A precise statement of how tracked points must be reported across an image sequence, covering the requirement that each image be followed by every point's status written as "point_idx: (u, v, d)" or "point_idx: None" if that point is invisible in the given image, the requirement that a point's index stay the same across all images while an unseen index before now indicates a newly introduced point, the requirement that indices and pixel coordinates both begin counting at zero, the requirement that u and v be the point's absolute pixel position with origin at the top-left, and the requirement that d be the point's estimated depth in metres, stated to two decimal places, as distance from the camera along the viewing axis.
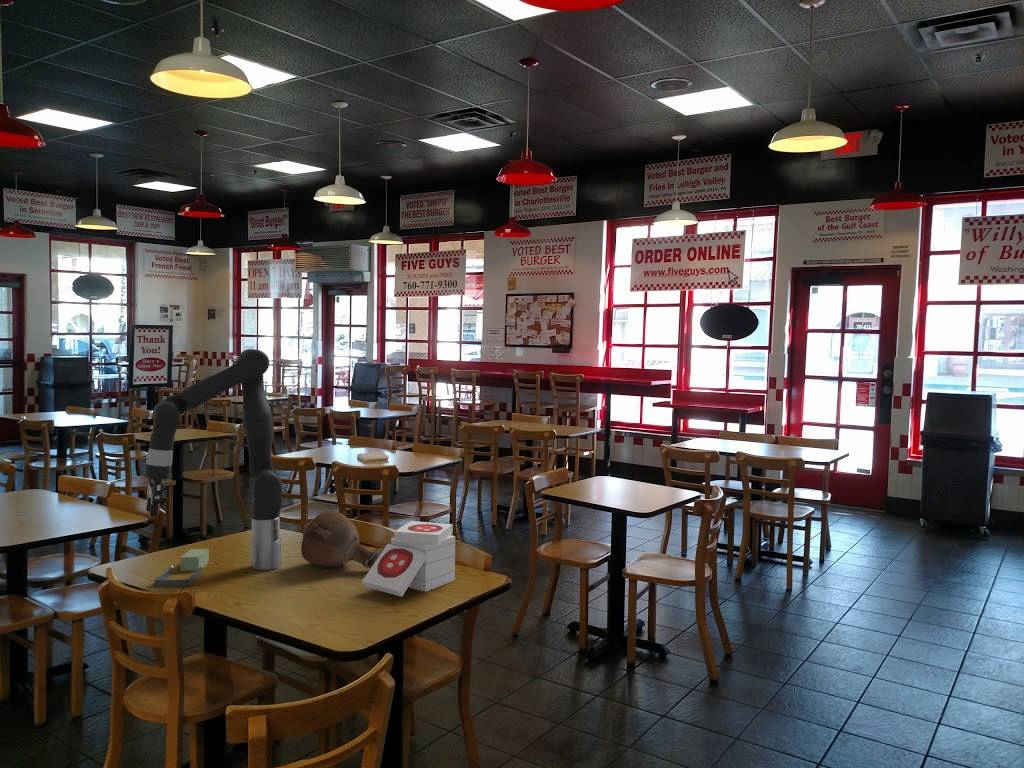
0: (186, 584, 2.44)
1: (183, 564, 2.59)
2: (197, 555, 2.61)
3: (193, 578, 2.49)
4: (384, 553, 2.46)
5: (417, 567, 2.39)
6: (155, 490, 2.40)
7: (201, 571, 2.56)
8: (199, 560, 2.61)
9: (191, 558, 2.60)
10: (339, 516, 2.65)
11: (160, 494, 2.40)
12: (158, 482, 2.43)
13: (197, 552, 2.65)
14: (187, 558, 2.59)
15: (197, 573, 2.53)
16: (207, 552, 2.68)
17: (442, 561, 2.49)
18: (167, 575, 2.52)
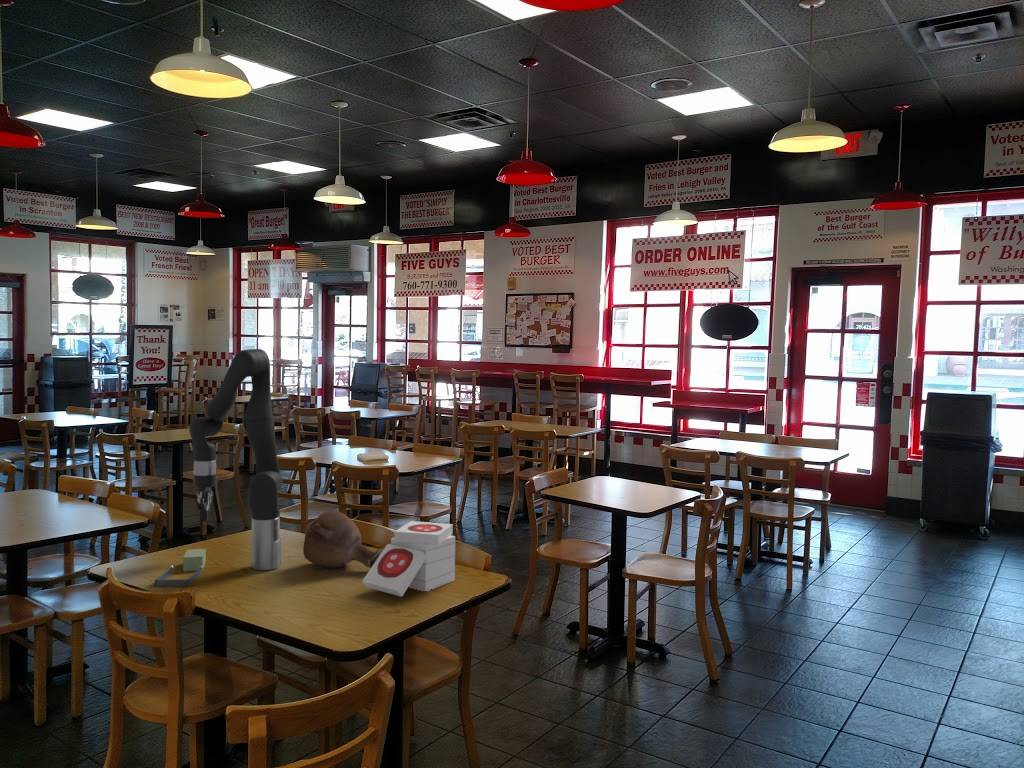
0: (186, 584, 2.44)
1: (186, 564, 2.59)
2: (200, 555, 2.62)
3: (193, 578, 2.49)
4: (384, 553, 2.46)
5: (417, 567, 2.39)
6: (197, 503, 2.69)
7: (201, 571, 2.56)
8: (202, 559, 2.62)
9: (195, 558, 2.60)
10: (341, 516, 2.65)
11: (202, 505, 2.69)
12: (201, 490, 2.70)
13: (197, 552, 2.65)
14: (190, 558, 2.59)
15: (197, 573, 2.53)
16: (205, 552, 2.69)
17: (442, 561, 2.49)
18: (167, 575, 2.52)
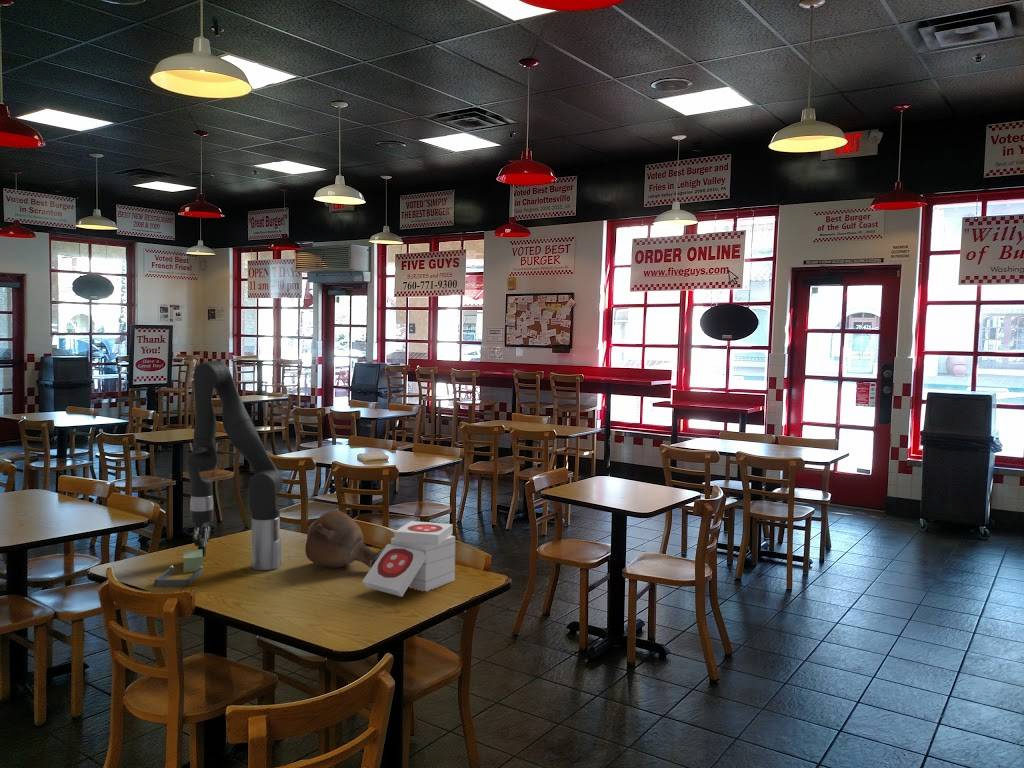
0: (186, 584, 2.44)
1: (186, 565, 2.58)
2: (199, 555, 2.61)
3: (193, 578, 2.49)
4: (384, 553, 2.46)
5: (417, 567, 2.39)
6: (194, 539, 2.66)
7: (201, 571, 2.56)
8: (202, 560, 2.61)
9: (195, 558, 2.59)
10: (343, 516, 2.65)
11: (199, 541, 2.67)
12: (198, 526, 2.67)
13: (195, 553, 2.64)
14: (191, 559, 2.59)
15: (197, 573, 2.53)
16: None
17: (442, 561, 2.49)
18: (167, 575, 2.52)
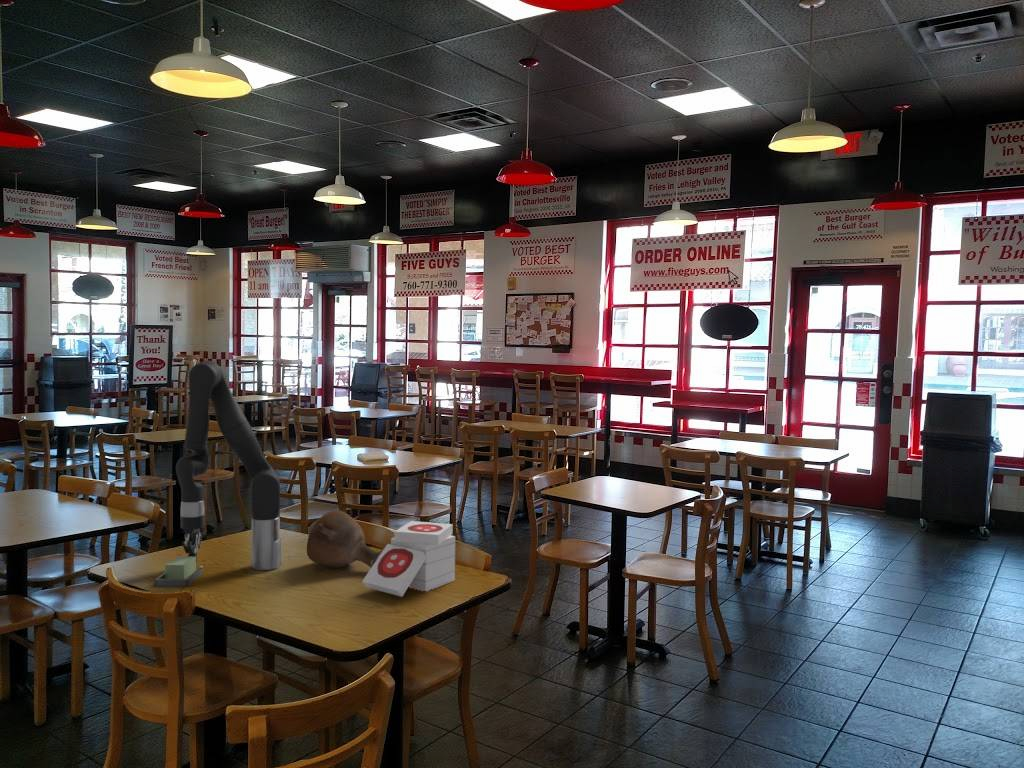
0: (186, 584, 2.44)
1: (168, 572, 2.50)
2: (183, 563, 2.52)
3: (193, 578, 2.49)
4: (384, 553, 2.46)
5: (417, 567, 2.39)
6: (184, 546, 2.57)
7: (201, 571, 2.56)
8: (185, 568, 2.51)
9: (176, 566, 2.50)
10: (344, 516, 2.65)
11: (189, 548, 2.58)
12: (188, 532, 2.58)
13: (183, 560, 2.56)
14: (172, 566, 2.50)
15: (197, 573, 2.53)
16: (194, 560, 2.59)
17: (442, 561, 2.49)
18: None
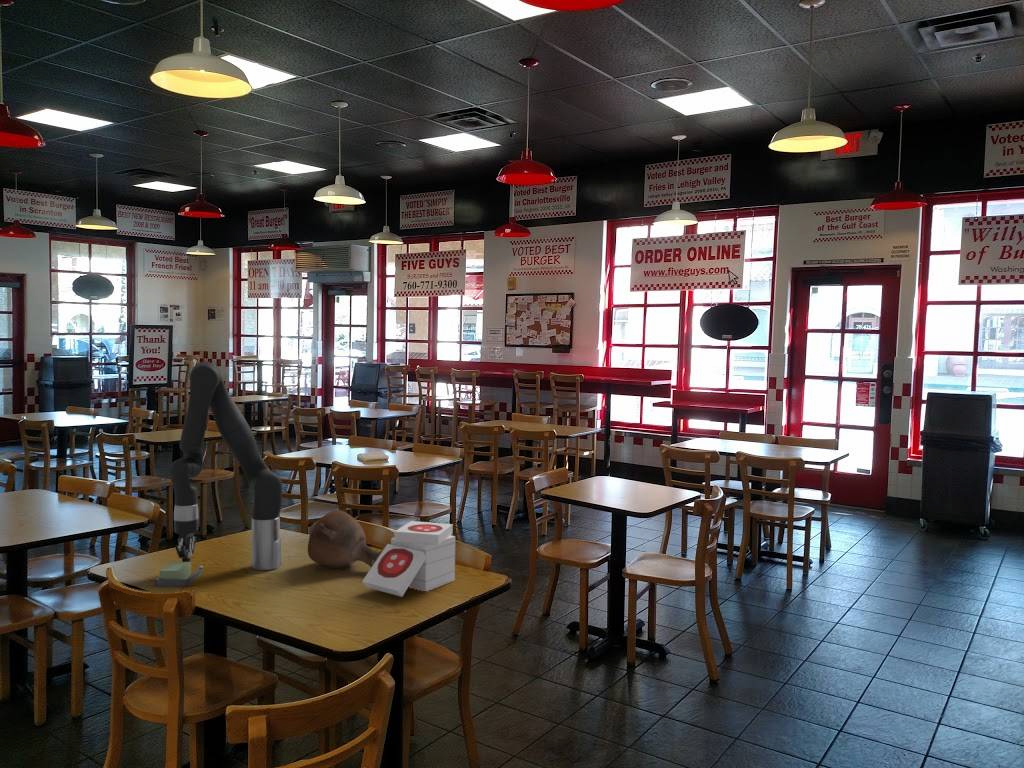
0: (186, 584, 2.44)
1: (162, 578, 2.45)
2: (177, 569, 2.46)
3: (193, 578, 2.49)
4: (384, 553, 2.46)
5: (417, 567, 2.39)
6: (177, 551, 2.51)
7: (201, 571, 2.56)
8: (180, 574, 2.46)
9: (171, 572, 2.44)
10: (345, 516, 2.65)
11: (183, 553, 2.52)
12: (182, 536, 2.53)
13: (178, 565, 2.50)
14: (166, 572, 2.44)
15: (197, 573, 2.53)
16: (189, 565, 2.53)
17: (442, 561, 2.49)
18: None
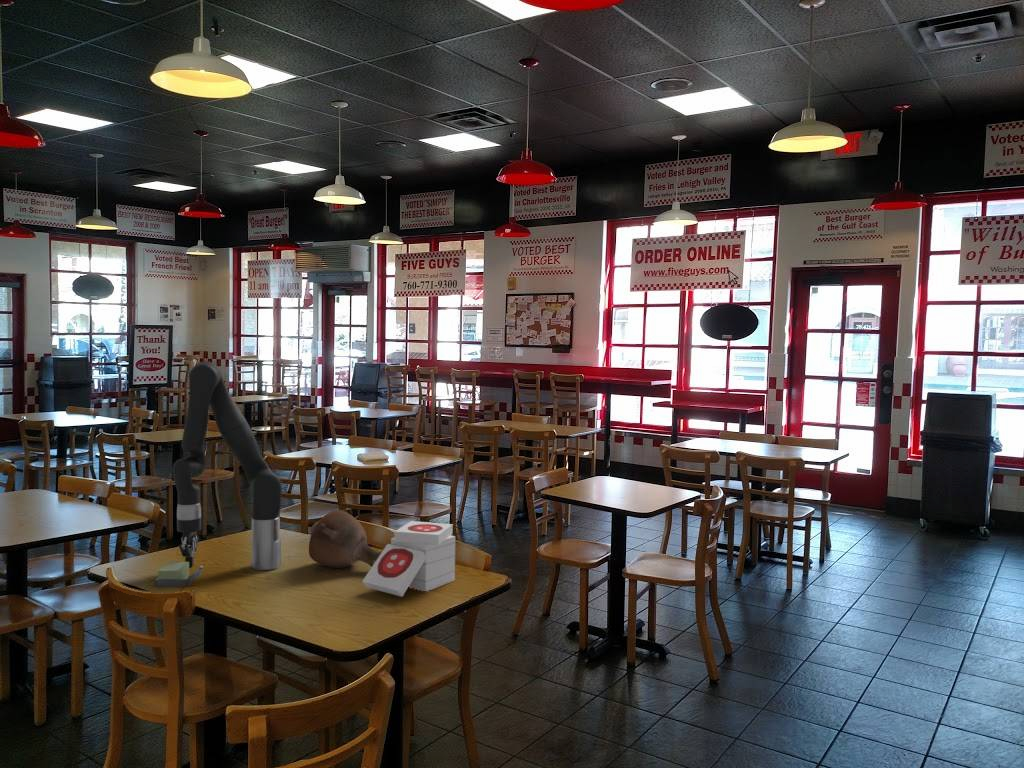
0: (186, 584, 2.44)
1: (160, 578, 2.44)
2: (176, 569, 2.46)
3: (193, 578, 2.49)
4: (384, 553, 2.46)
5: (417, 567, 2.39)
6: (181, 549, 2.53)
7: (201, 571, 2.56)
8: (178, 574, 2.45)
9: (169, 572, 2.44)
10: (346, 516, 2.65)
11: (187, 552, 2.54)
12: (186, 535, 2.55)
13: (176, 565, 2.50)
14: (165, 572, 2.44)
15: (197, 573, 2.53)
16: (187, 565, 2.53)
17: (442, 561, 2.49)
18: None
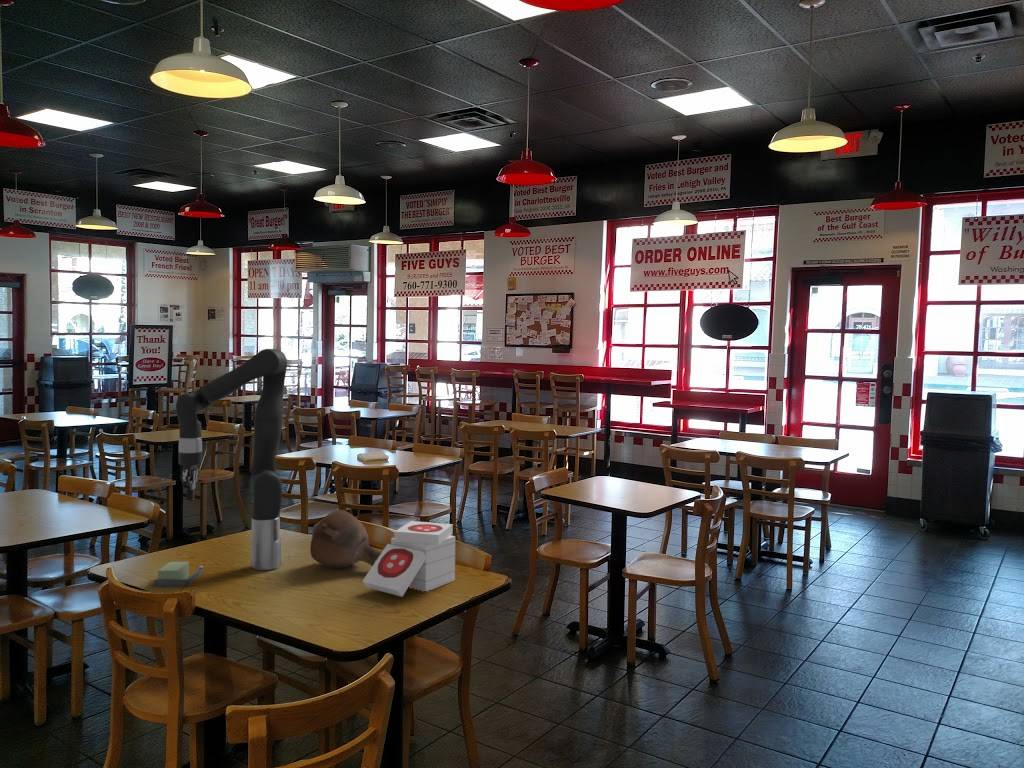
0: (186, 584, 2.44)
1: (160, 578, 2.44)
2: (176, 568, 2.46)
3: (193, 578, 2.49)
4: (384, 553, 2.46)
5: (417, 567, 2.39)
6: (182, 481, 2.61)
7: (201, 571, 2.56)
8: (178, 574, 2.45)
9: (170, 572, 2.44)
10: (348, 516, 2.65)
11: (187, 483, 2.62)
12: (187, 468, 2.63)
13: (176, 565, 2.50)
14: (165, 572, 2.44)
15: (197, 573, 2.53)
16: (187, 565, 2.53)
17: (442, 561, 2.49)
18: None
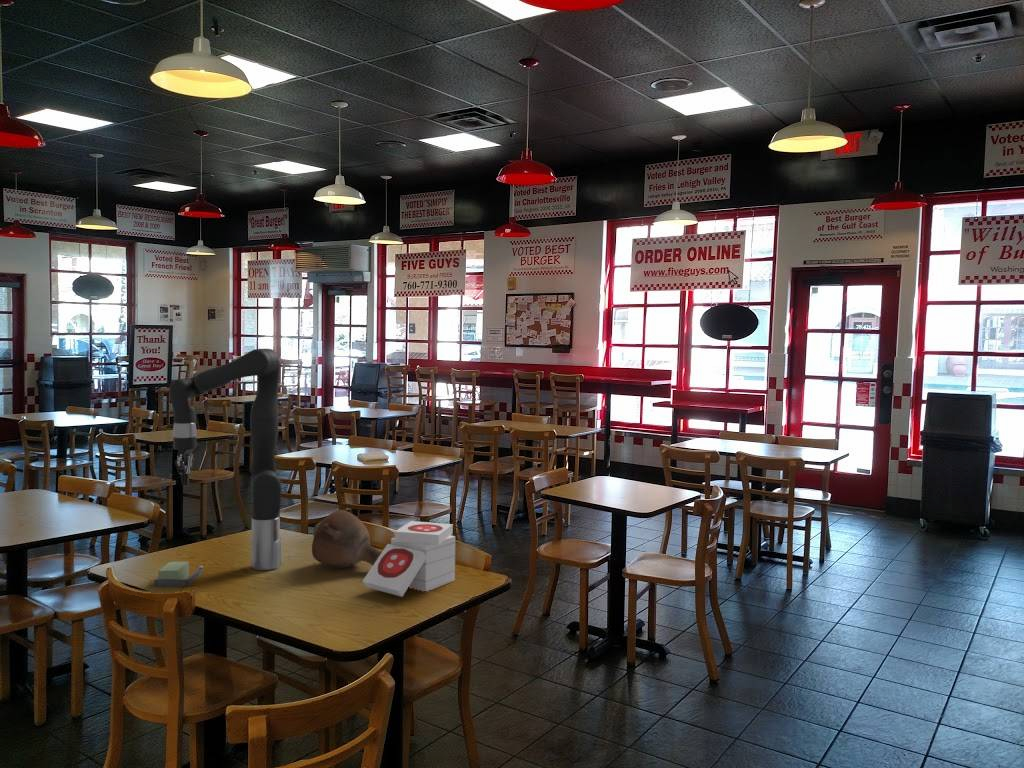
0: (186, 584, 2.44)
1: (161, 578, 2.44)
2: (176, 568, 2.46)
3: (193, 578, 2.49)
4: (384, 553, 2.46)
5: (417, 567, 2.39)
6: (176, 465, 2.65)
7: (201, 571, 2.56)
8: (179, 574, 2.45)
9: (170, 572, 2.44)
10: (350, 516, 2.65)
11: (182, 468, 2.66)
12: (181, 452, 2.66)
13: (176, 565, 2.50)
14: (166, 572, 2.44)
15: (197, 573, 2.53)
16: (187, 565, 2.53)
17: (442, 561, 2.49)
18: None
